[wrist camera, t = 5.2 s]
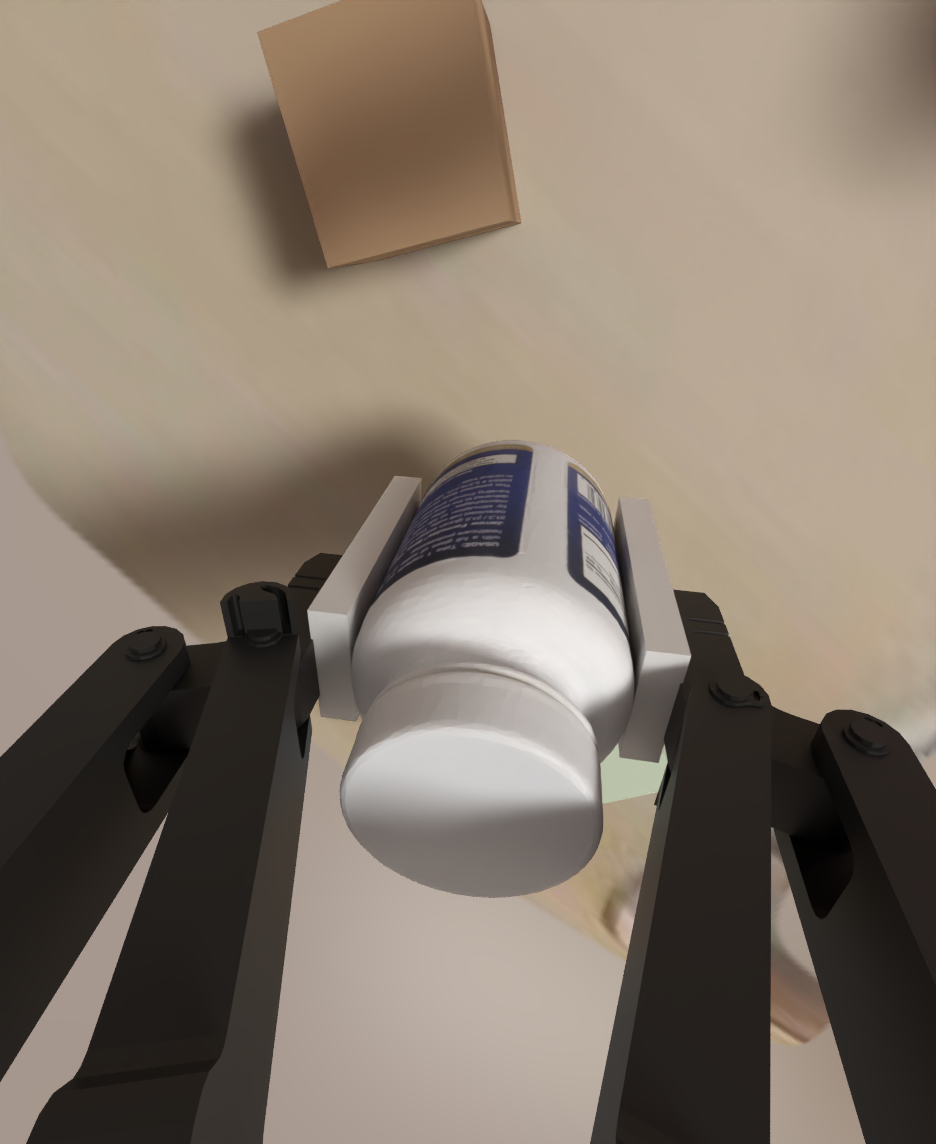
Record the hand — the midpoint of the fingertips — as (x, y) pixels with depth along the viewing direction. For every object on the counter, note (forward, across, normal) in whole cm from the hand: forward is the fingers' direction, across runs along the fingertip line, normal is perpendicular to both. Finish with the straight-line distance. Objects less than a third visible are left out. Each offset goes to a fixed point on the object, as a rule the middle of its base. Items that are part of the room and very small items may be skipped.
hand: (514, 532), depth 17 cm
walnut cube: (+8, -4, +9) cm, 12 cm away
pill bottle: (+1, 0, 0) cm, 1 cm away
